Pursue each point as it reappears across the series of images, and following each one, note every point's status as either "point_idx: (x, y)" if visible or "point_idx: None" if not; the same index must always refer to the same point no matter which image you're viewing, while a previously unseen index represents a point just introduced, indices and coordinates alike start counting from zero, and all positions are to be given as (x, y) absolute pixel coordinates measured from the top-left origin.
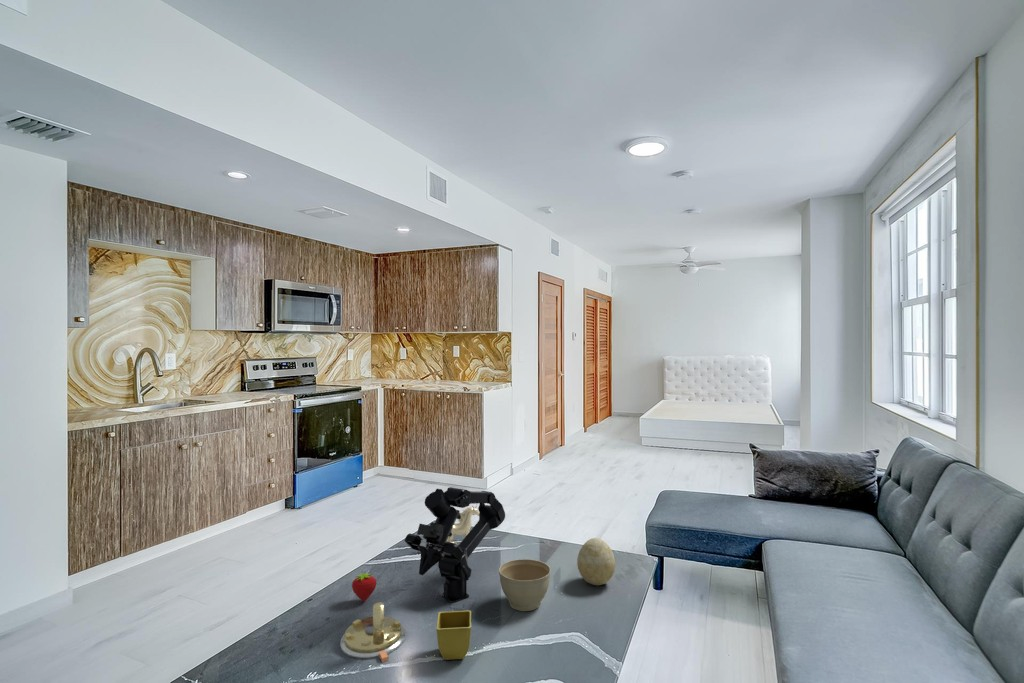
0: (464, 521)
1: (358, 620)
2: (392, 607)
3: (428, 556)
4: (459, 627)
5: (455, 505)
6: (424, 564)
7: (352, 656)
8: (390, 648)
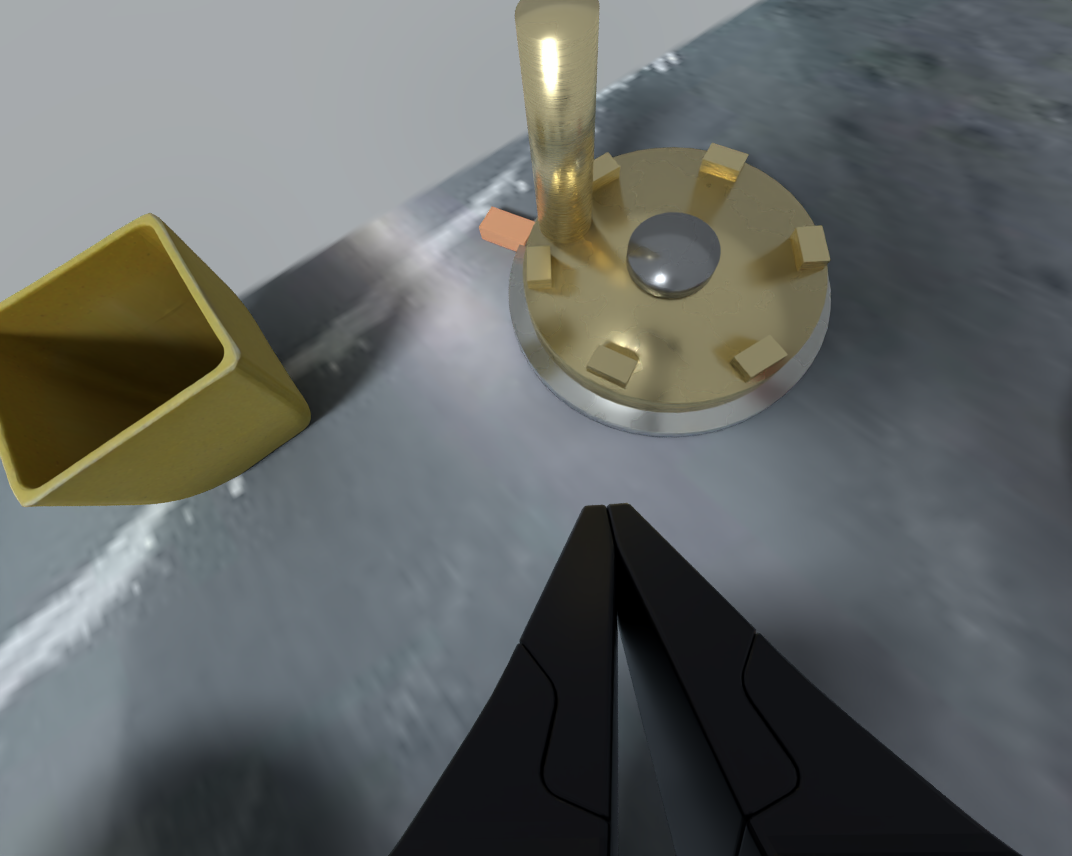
0: None
1: (814, 254)
2: (884, 582)
3: (551, 812)
4: (23, 292)
5: None
6: (585, 601)
7: None
8: (518, 270)
